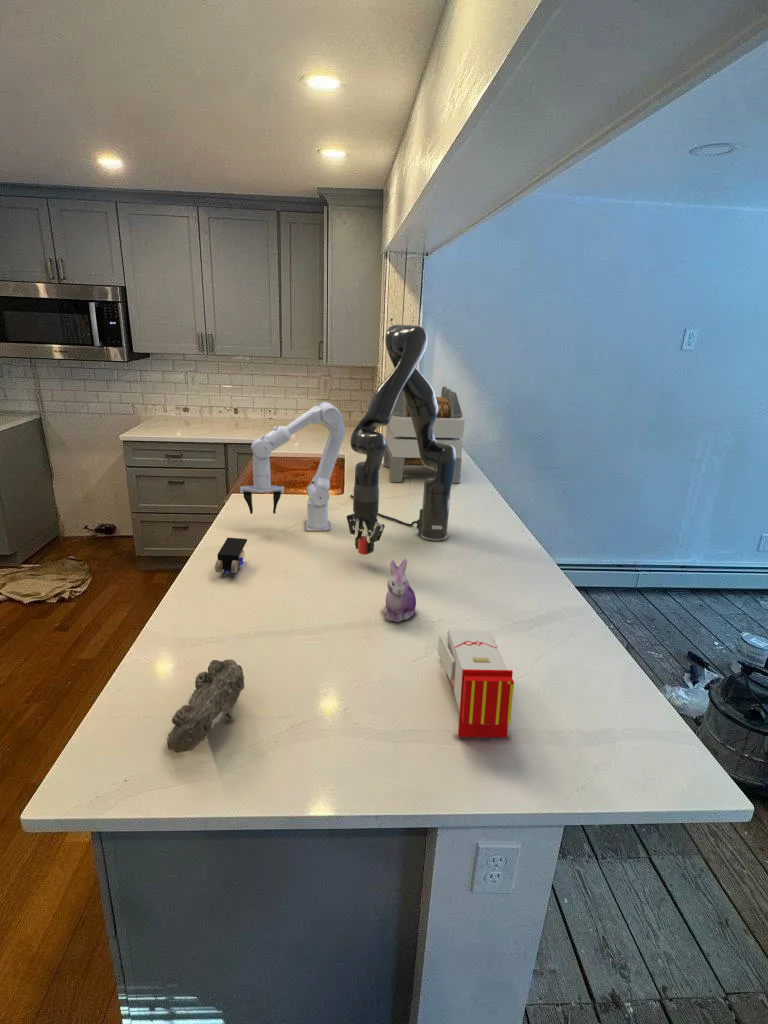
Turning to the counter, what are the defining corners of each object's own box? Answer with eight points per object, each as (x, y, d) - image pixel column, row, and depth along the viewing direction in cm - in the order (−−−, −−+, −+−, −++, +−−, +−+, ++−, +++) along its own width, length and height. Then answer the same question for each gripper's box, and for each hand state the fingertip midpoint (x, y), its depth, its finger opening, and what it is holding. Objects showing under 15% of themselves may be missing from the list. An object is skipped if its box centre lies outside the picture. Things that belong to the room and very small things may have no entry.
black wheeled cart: (238, 584, 162) (249, 557, 175) (236, 562, 158) (247, 536, 172) (215, 584, 161) (227, 556, 175) (212, 561, 158) (225, 535, 171)
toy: (488, 613, 130) (523, 677, 101) (484, 667, 133) (517, 744, 104) (435, 612, 130) (455, 676, 101) (432, 666, 133) (451, 743, 103)
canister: (366, 555, 171) (367, 541, 169) (355, 552, 172) (356, 539, 171) (372, 551, 174) (373, 537, 173) (361, 548, 176) (362, 534, 174)
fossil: (192, 660, 117) (244, 628, 112) (224, 691, 120) (276, 661, 115) (142, 746, 98) (202, 712, 93) (182, 779, 101) (242, 748, 96)
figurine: (392, 627, 141) (395, 572, 136) (374, 608, 149) (376, 556, 144) (425, 619, 145) (429, 566, 140) (405, 601, 154) (408, 550, 149)
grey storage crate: (382, 463, 289) (386, 382, 275) (445, 464, 293) (451, 384, 279) (390, 482, 257) (394, 392, 243) (460, 483, 261) (468, 394, 247)
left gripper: (238, 478, 185) (240, 517, 190) (283, 478, 187) (284, 516, 192) (240, 472, 192) (242, 509, 196) (283, 472, 194) (284, 509, 199)
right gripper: (340, 494, 169) (339, 547, 175) (375, 506, 160) (373, 561, 166) (357, 489, 174) (355, 540, 180) (392, 500, 166) (389, 554, 172)
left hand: (263, 512), depth 195 cm, fingers open, 7 cm apart
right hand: (364, 550), depth 173 cm, fingers closed on canister, 3 cm apart
